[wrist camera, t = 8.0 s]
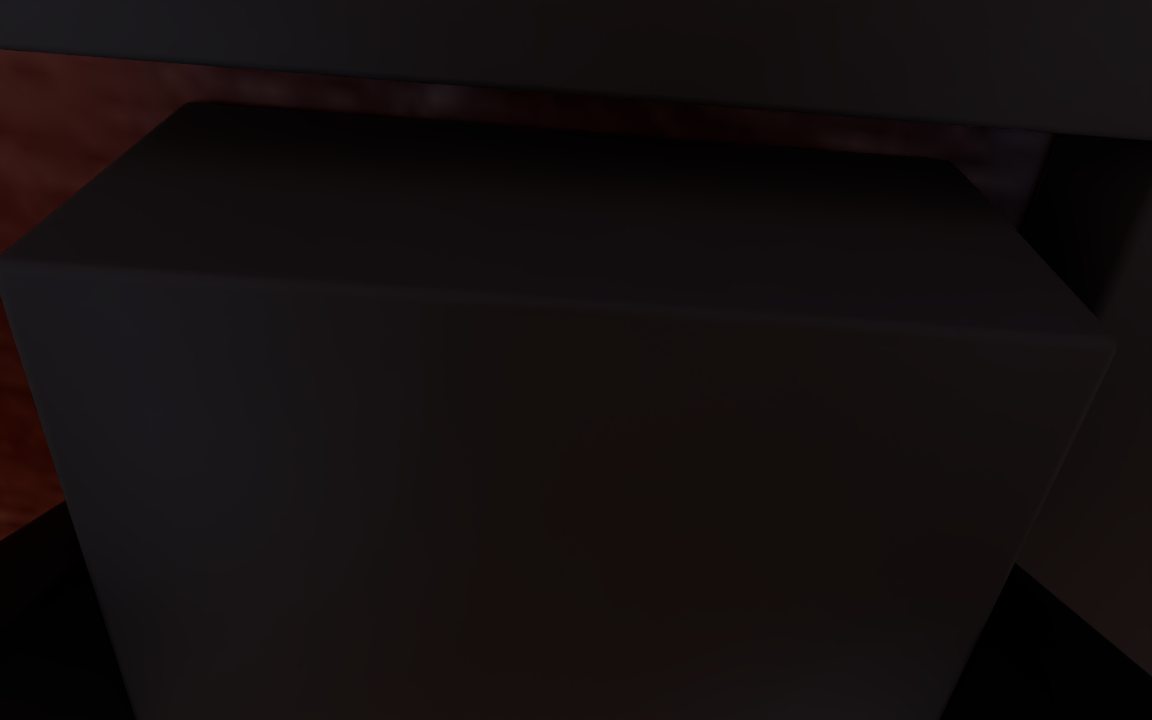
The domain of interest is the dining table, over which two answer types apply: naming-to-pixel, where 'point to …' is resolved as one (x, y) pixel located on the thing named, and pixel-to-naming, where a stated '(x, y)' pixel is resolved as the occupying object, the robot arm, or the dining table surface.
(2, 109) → the dining table surface
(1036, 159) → the dining table surface
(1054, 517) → the big pad
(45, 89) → the dining table surface
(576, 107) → the dining table surface
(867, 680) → the small pad
